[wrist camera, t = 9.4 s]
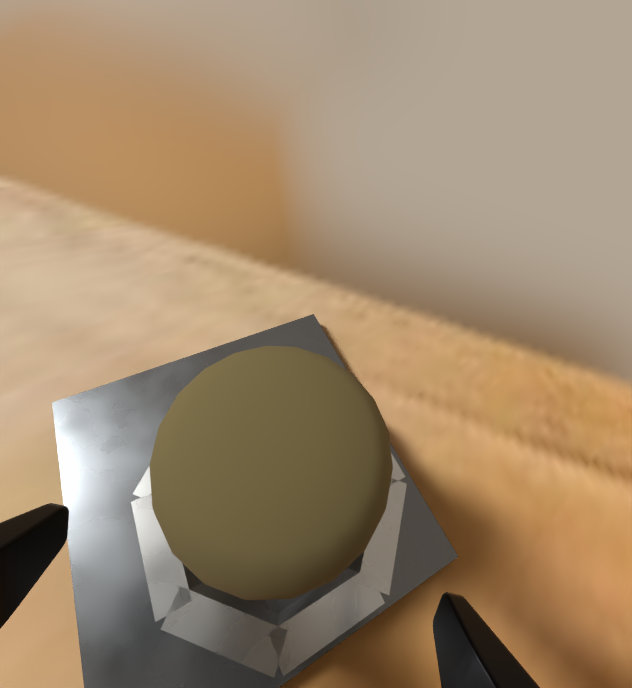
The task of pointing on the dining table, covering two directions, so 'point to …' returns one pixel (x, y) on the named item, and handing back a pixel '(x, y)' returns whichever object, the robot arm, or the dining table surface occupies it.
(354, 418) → the cork
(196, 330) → the dining table surface
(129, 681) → the socket block
